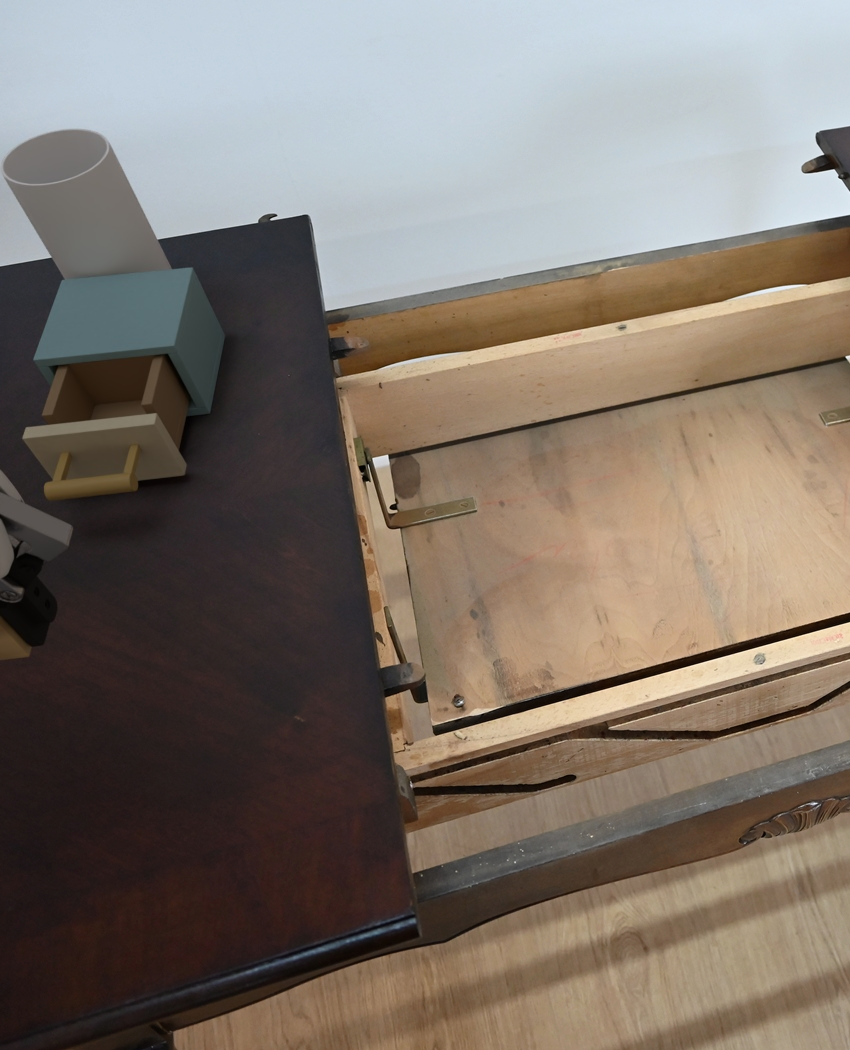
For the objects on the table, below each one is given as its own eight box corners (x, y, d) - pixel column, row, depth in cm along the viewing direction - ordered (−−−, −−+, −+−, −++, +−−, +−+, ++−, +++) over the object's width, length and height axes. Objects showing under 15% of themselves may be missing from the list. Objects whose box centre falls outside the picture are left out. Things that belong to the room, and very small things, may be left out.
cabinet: (210, 414, 87) (174, 345, 81) (78, 428, 86) (32, 360, 80) (225, 335, 93) (192, 266, 87) (102, 348, 92) (61, 279, 86)
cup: (74, 334, 93) (-23, 177, 81) (127, 279, 98) (42, 122, 86) (155, 349, 92) (69, 191, 79) (204, 291, 97) (130, 135, 84)
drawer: (176, 517, 79) (144, 466, 74) (47, 532, 78) (6, 482, 73) (200, 397, 87) (173, 344, 82) (84, 409, 86) (49, 357, 81)
